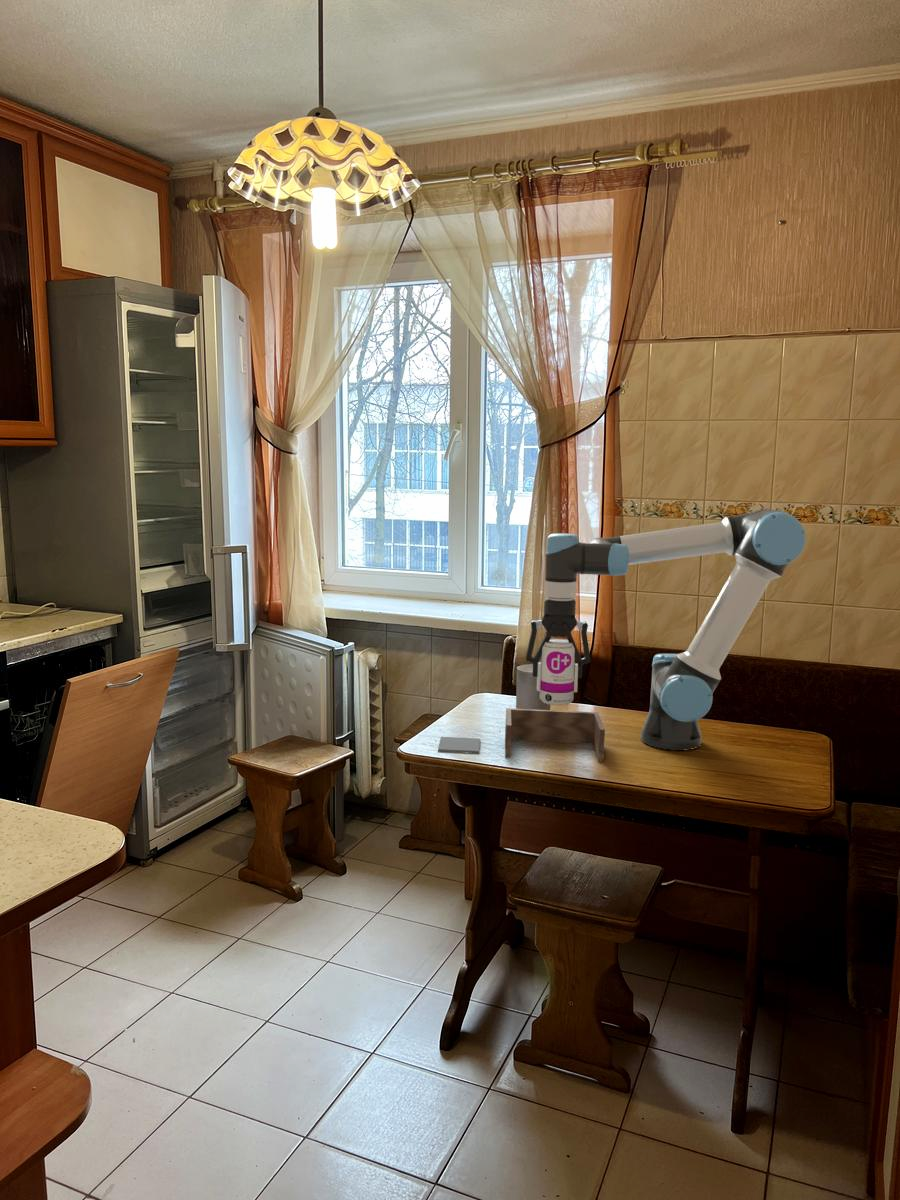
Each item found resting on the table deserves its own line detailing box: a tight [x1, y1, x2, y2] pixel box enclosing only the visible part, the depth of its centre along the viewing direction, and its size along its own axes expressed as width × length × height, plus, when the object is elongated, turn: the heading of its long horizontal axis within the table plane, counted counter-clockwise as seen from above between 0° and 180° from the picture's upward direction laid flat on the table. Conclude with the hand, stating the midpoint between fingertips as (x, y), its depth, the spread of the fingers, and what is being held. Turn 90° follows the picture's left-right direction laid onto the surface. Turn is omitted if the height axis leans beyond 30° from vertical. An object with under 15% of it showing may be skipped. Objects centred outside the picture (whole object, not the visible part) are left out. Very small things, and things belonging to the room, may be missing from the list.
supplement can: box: [540, 637, 576, 706], centre depth 218 cm, size 8×8×15 cm
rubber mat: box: [437, 736, 481, 754], centre depth 223 cm, size 10×10×1 cm
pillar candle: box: [515, 663, 551, 710], centre depth 251 cm, size 10×10×15 cm
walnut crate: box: [504, 707, 606, 763], centre depth 221 cm, size 23×15×8 cm, turn 87°
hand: (556, 690), depth 219 cm, fingers closed on supplement can, 8 cm apart
